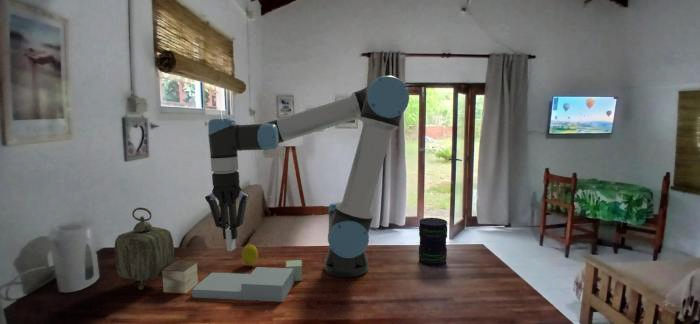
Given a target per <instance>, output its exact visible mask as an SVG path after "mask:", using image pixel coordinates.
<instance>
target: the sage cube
mask: <svg viewBox="0 0 700 324" xmlns="http://www.w3.org/2000/svg"><path fill="white" fill-rule="evenodd" d="M302 264H303V262H302V259H300V260H299V259H298V260H297V259H296V260H295V259H294V260H286V261H285V268H292V269H294V282H299V281H300V282H301V281H303V265H302Z"/></svg>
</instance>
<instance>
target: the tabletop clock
mask: <svg viewBox="0 0 700 324" xmlns="http://www.w3.org/2000/svg"><path fill="white" fill-rule="evenodd" d="M136 211H145V212H147V213H148V215H149V217H148V218H145V217H144V216H140V217H136V216H135V212H136ZM131 215H132V217H133V218H134V220H136V221H138V222H137V223H135V226H134V227H133V230H130V231H127V232H123V233H121V234H119V235H118V236H117V238H115V241H114V260H115V267H116V268H115V269H116V272H117V275H118V276H119V277H121V278H124V279H129V280H136V281H137V282H140V284H138V287H137V288H138V289H137V290H140V291H142V290H144V288H145V286H144V281H153V280H156V279H157V278H160V279H161V280H163V275H162V270H163V269H165V268H166V267H168V266H169V265H171V264H172V263H174V262H175V247H174V239H173V236H172V233H171V230H168V229H166V228H163V227H159V226H158V227H156V226H153V225H152V224H151V223H150V222H148V221H151V220H152V213H151V211H150V210H149V209H148V208H145V207H136V208H134V210H132V214H131Z"/></svg>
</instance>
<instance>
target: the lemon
mask: <svg viewBox="0 0 700 324" xmlns="http://www.w3.org/2000/svg"><path fill="white" fill-rule="evenodd" d="M258 258H259V251H258V249H257V247H256V246H255V245H253V244H251V243H248V244H247V245H245V246H244V248H243V249H242V251H241V261H242V262H243V263H244V264H245V265H248V266H249V267H251V266H253V265H254V264H255V263H256V262H257V261H258Z"/></svg>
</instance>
